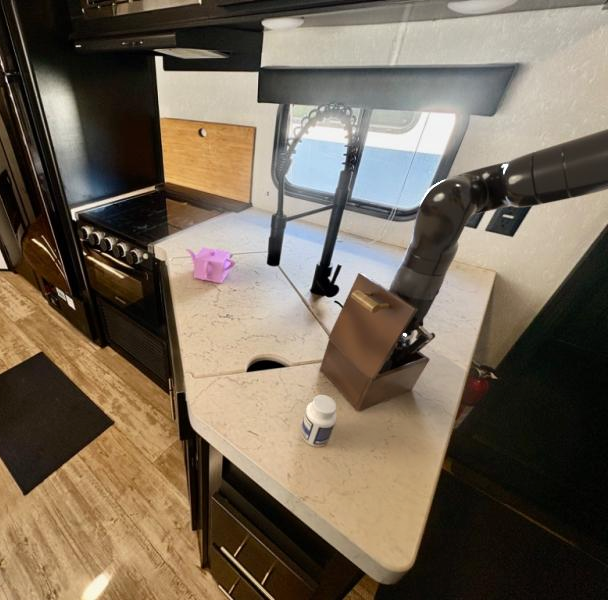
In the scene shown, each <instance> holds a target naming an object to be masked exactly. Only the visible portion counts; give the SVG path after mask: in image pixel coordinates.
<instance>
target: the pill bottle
mask: <svg viewBox="0 0 608 600" xmlns="http://www.w3.org/2000/svg"><path fill="white" fill-rule="evenodd" d="M336 410H337V403H336V401H335V400H334V399H333V398H332V397H330V396H329V395H325V394H318V395H316V396H314V398H313V400H312V401H311V402H309V403H308V404H307V406H306V409H305V413H304V416H303V418H302V422H301V425H300V435H301V437H302V439H303V440H304V441H305V443H306V444H308V445H310V446H313V447H318V448H319V447H324V446H326V444H327V443H328V442H329V440H330V437H331V435H332V432H333V431H334V427H335V425H336V422H337V412H336Z"/></svg>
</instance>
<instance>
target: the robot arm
mask: <svg viewBox="0 0 608 600" xmlns="http://www.w3.org/2000/svg"><path fill="white" fill-rule="evenodd" d="M606 190H608V128H605V129H603V130H600V131H597V132H593V133H590V134H587V135H584V136H583V135H582V136H581V137H578V138H575V139H571V140H567V141H564V142H561V143H557V144H555V145H552V146H547V147H545V148H542V149H539V150H536V151H532V152H529V153H525V154H524V155H521V156H518V157H516V158H514V159H513V158H512V159H511V160H508V161H505V162H500V163H496V164H492V165H488V166H484V167H483V166H482V167H480V168H476V169H472V170H469V171H465V172H461V173H459V174H455V175H452V176H451V177H448V178H446V179H444V180H441V181H440V182H437V183H436V184H434V185H432V186H431V187H430V188H429V189H428V190H427V192H426V193H425V194H424V197H422V200H421V202H420V204H419V207H418V209H417V212H416V217H415V220H414V226H413V231H412V237H411V241H410V242H409V244H408V246H407V249H406V251H405V254H404V256H403V258H402V260H401V263H400V265H399V266H398V268H397V269H396V272H395V274H394V276H393V279H392V281H391V284H390V286H389V289H388V290H389V291H391V292H393V293H394V294H396V295H397V296H399V297H400V298H402V299H404V300H405V301H407V302H408V303H410V304H411V305H413V306H415V307H416V308H418V310H417V312H416V313H415V315H414V316H413V318H412V320H411V321H410V323H409V325H408V326H407V328H406V329H405V331H404V333H403V334H402V336H401V337H400V339H399V341H398V342H397V347H396V348H395V349H394V351H393V353H392V356H391V358H390V360H391V361H392V362H395V361H396V362H397V361H400V360H402V359H403V357H404V355H405V353H407V354H408V355H410V354H412V353H415V352H418V351H420V352H421V350H422V349H423V348H424V347H426V346H427V345H428V344H429V343H430V342H431V341H433V340H434V339H435V338H436V334H435V333H434V332H432V331H430V332H429V331H428V329H426V328H425V327H424V320H425V319H424V318H426V316H427V315H428V313H429V311H430V309H431V308H432V305H433V303H434V302H435V299H436V298H437V296H438V295H439V293H440V290H441V287H442V286H443V283H444V281H445V278H446V276H447V272H448V271H449V269H450V267H451V265H452V263H453V261H454V259H455V257H456V254H457V252H458V250H459V242H458V241H459V239H460V237H461V235H462V233H463V231H464V229H465V227H466V226H467V224H468V222H469V220H470V219H471V217H472V216H474V215H479V214H481V213H485V212H491V211H496V210H500V209H505V208H509V207H513V208H527V207H534V206H540V205H545V204H549V203H553V202H558V201H564V200H569V199H574V198H578V197H582V196H586V195H592V194H595V193H600V192H603V191H606ZM415 331H416V332H417V333H416V336H415V340H414V341H413V342H412V340H413V338H414V335H415Z"/></svg>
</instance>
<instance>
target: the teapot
mask: <svg viewBox="0 0 608 600" xmlns="http://www.w3.org/2000/svg"><path fill="white" fill-rule="evenodd" d="M185 251H186V252H188V253H189V255H190V257H191V262H192V264H193V278H194V279H198V280H201V281H209V282H213V283H215V284H216V283H218V284H222V283H223V282H224V280H225V279H226V277H227V275H228V274H229V272H230V269H233V268H234V267H235V265H236V261H235V260H234V259H231V252H230V251H227V250H222V249H220V248H216V249H215V248H210V247H204V246H203V247H202V248H201V249H200V250H199V251H198V252H197V253H196V254H195V252H194V251H193V250H192V249H188V248H186V249H185Z"/></svg>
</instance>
